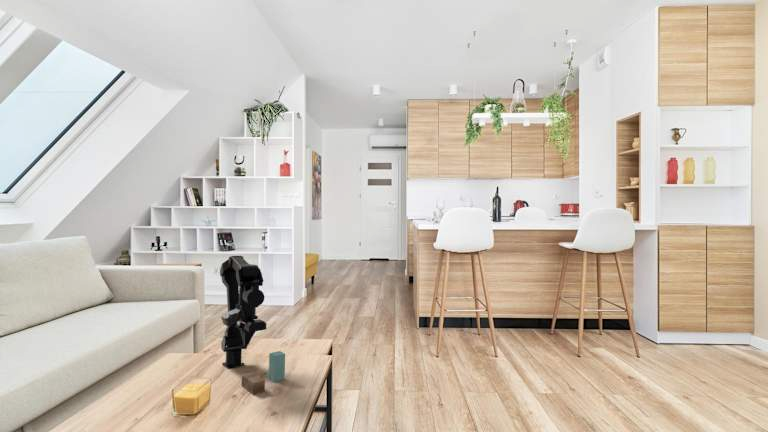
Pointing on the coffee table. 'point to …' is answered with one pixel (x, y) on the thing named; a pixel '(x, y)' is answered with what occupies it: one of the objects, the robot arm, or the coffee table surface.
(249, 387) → the walnut block
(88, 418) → the coffee table surface
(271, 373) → the teal block
